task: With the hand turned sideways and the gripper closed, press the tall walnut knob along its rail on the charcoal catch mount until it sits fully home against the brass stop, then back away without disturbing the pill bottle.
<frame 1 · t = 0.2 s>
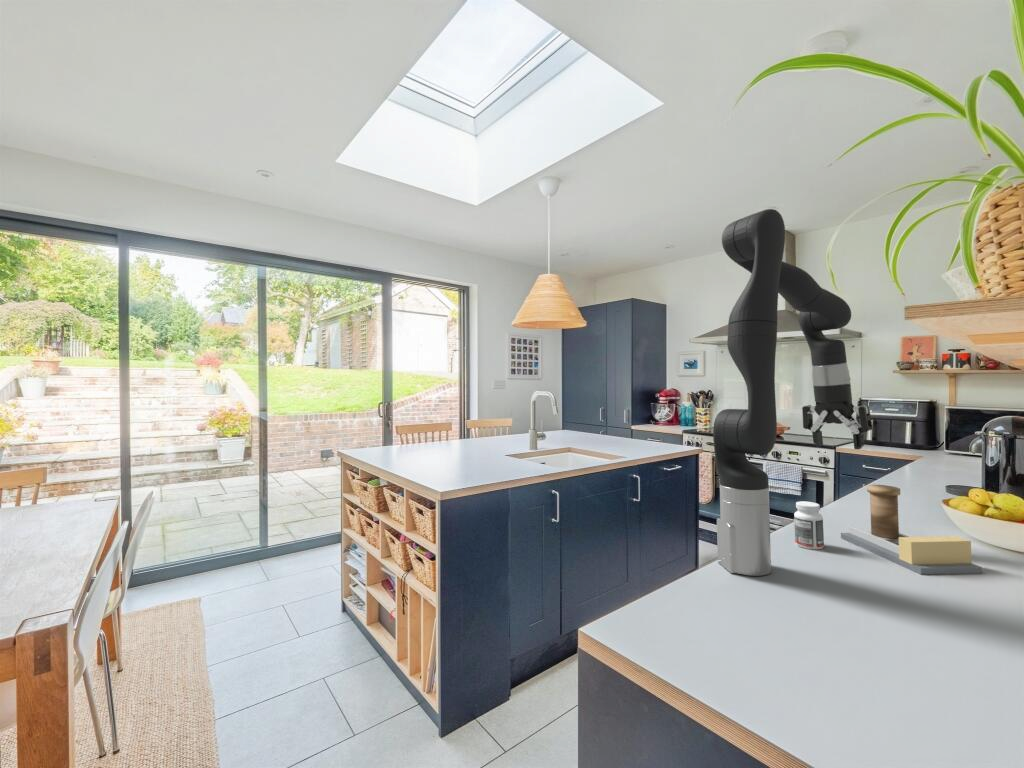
hand: (838, 447, 111), 22 cm above the counter, tool pointing down, fingers open, 8 cm apart
knob: (884, 513, 105), point 7 cm above the counter, slide at 8.0 cm
pill bottle: (809, 546, 106), on the counter
catch mount: (903, 553, 100), on the counter
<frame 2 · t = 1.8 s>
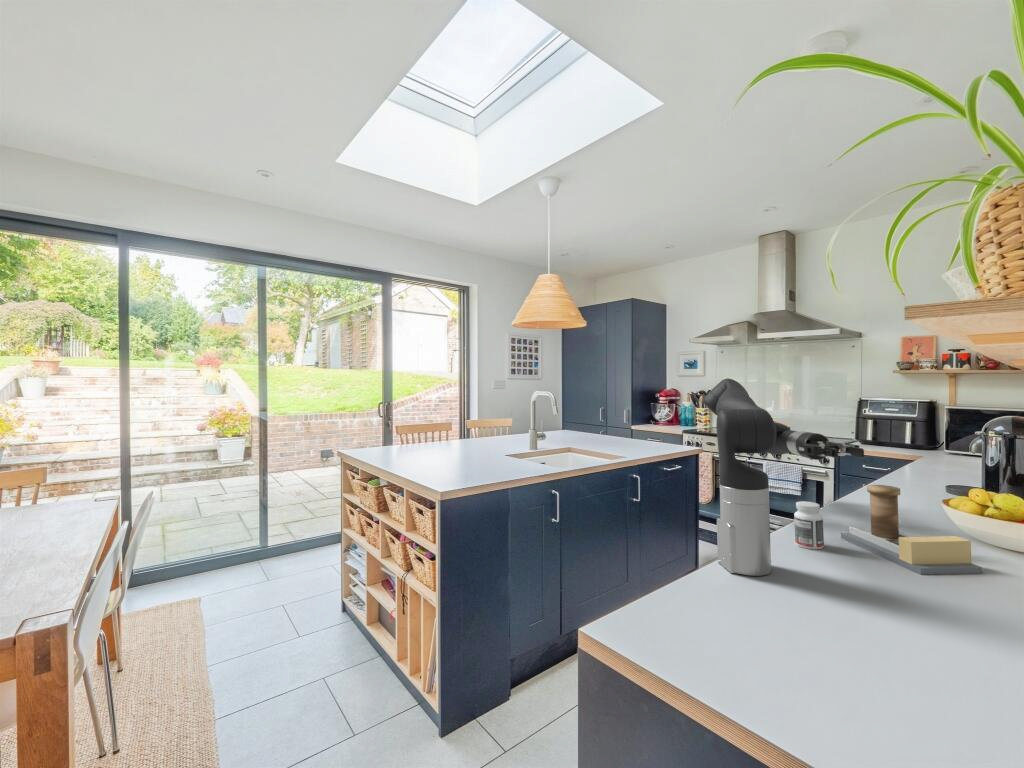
hand: (849, 453, 116), 20 cm above the counter, tool horizontal, fingers open, 6 cm apart
nothing on the counter moved.
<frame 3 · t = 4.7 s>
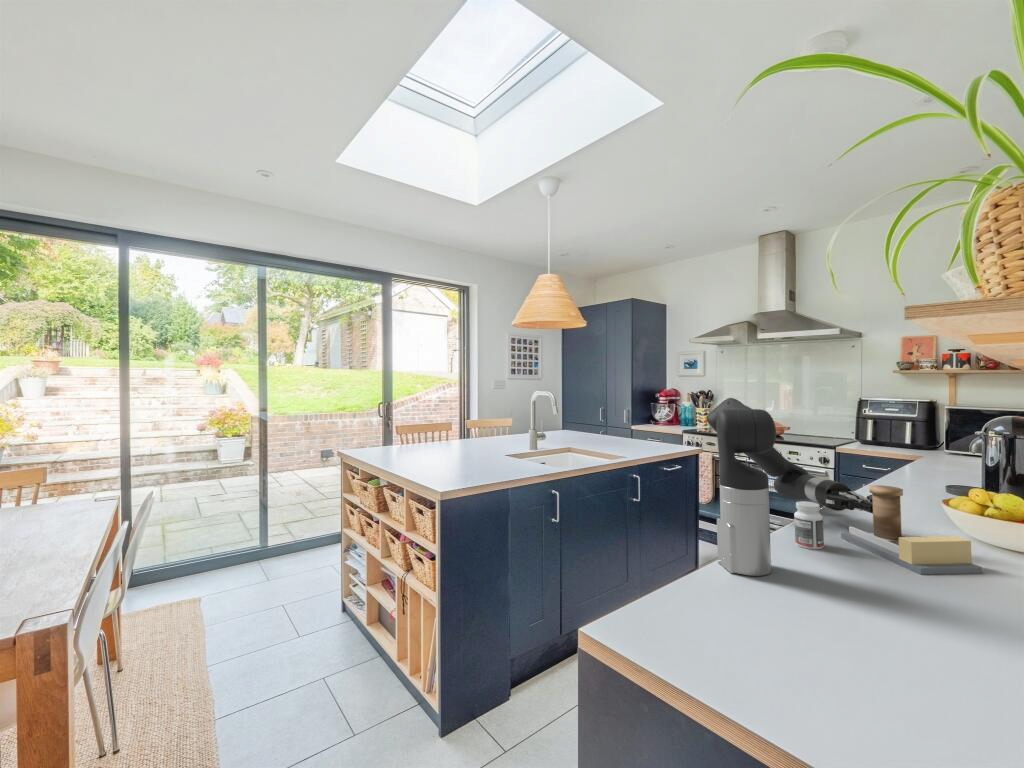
hand: (877, 509, 107), 8 cm above the counter, tool horizontal, fingers closed
knob: (886, 514, 104), point 7 cm above the counter, slide at 7.3 cm, touching gripper
everything else where it was.
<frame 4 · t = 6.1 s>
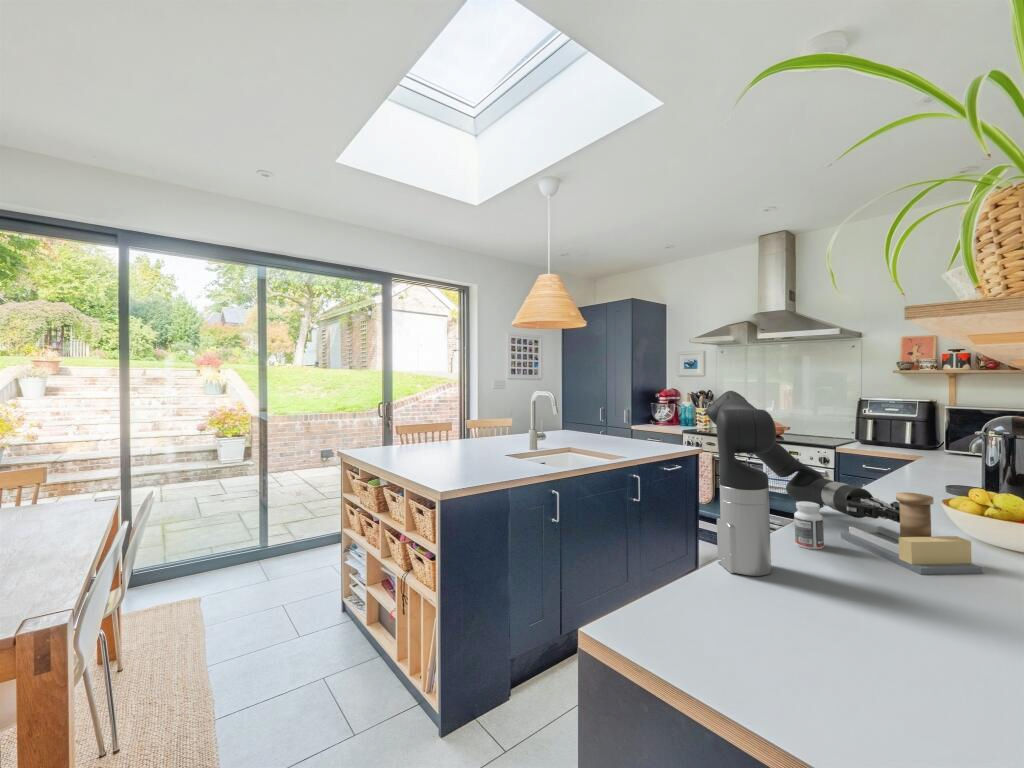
hand: (904, 518, 99), 8 cm above the counter, tool horizontal, fingers closed
knob: (915, 524, 97), point 7 cm above the counter, slide at -0.2 cm, touching gripper
everything else where it was.
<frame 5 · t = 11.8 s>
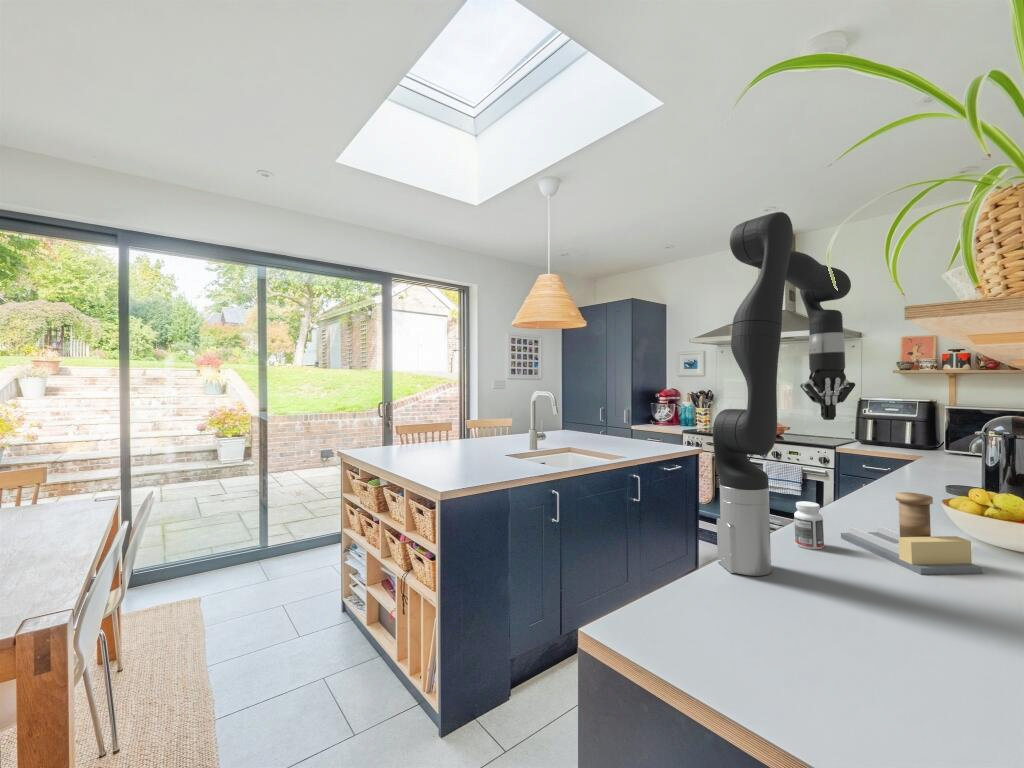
hand: (828, 419, 115), 29 cm above the counter, tool pointing down, fingers closed
knob: (914, 523, 97), point 7 cm above the counter, slide at 0.0 cm
everything else where it was.
at the end: knob slide at 0.0 cm; pill bottle moved 0.2 cm from its start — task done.
